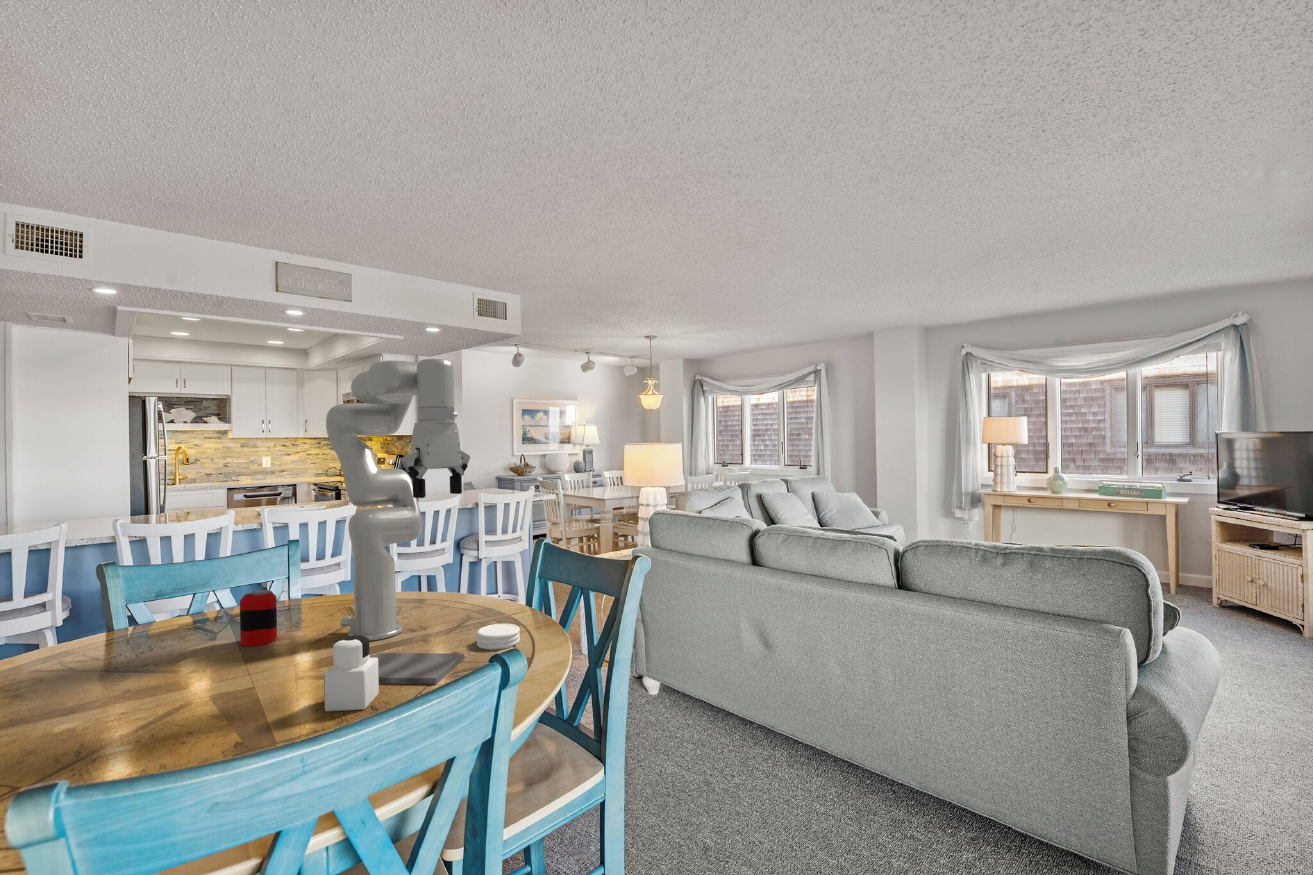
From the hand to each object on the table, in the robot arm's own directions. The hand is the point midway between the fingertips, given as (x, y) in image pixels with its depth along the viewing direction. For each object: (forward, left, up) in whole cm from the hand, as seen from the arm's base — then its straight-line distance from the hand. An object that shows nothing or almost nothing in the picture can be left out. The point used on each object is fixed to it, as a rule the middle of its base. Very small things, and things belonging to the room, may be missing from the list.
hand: (438, 495), depth 133 cm
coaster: (+8, +14, -37) cm, 40 cm away
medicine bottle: (-8, -20, -37) cm, 43 cm away
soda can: (-52, +13, -37) cm, 65 cm away
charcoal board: (-6, -4, -37) cm, 37 cm away
